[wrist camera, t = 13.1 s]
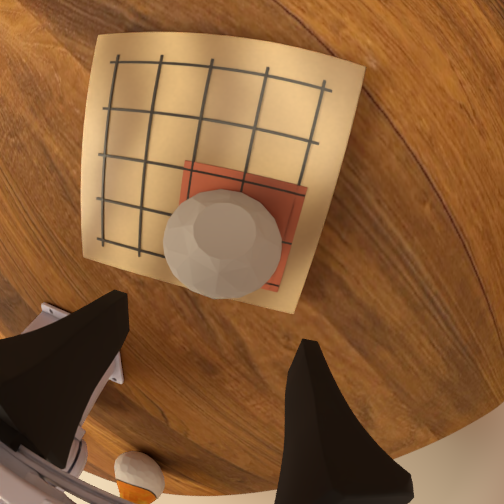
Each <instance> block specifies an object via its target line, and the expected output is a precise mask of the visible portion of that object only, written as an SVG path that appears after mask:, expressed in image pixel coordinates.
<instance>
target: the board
mask: <svg viewBox="0 0 504 504" xmlns="http://www.w3.org/2000/svg"><path fill="white" fill-rule="evenodd" d="M365 71H366V67H365V66H363V65H360V64H357V63H354V62H351V61H347V60H344V59H341V58H337V57H334V56H330V55H327V54H323V53H319V52H315V51H311V50H307V49H303V48H298V47H294V46H289V45H284V44H279V43H274V42H268V41H263V40H256V39H250V38H243V37H235V36H226V35H216V34H204V33H188V32H129V33H113V34H101V35H98V39H97V43H96V48H95V53H94V58H93V63H92V69H91V75H90V81H89V87H88V94H87V102H86V110H85V119H84V130H83V143H82V161H81V228H82V246H83V257H84V258H88V259H91V260H94V261H97V262H100V263H103V264H107V265H110V266H113V267H116V268H120V269H123V270H126V271H130V272H133V273H136V274H140V275H143V276H147V277H150V278H154V279H157V280H161V281H164V282H168V283H171V284H175V285H179V286H182V287H186V286H185V285H184V284H183V283H181V282H180V281H179V280H178V279H177V278H176V277H175V276H174V275H173V273H172V271H171V269H170V267H169V265H168V263H167V261H166V258H165V255H164V248H163V238H164V231H165V228H166V225H167V222H168V220H169V218H170V217H171V215H172V214H173V213H174V211H175V210H176V209H177V208H178V206H179V205H180V204H181V203H183V202H184V201H186V200H188V199H189V198H191V197H193V196H195V195H196V194H198V193H201V192H206V191H212V190H218V189H223V190H230V191H236V192H242V193H244V194H245V195H247V196H249V197H251V198H253V199H255V200H257V201H258V202H260V203H261V204H262V205H263V206H264V207H265V208H266V209H267V211H268V212H269V213H270V214H271V215H272V216H273V217H274V219H275V221H276V224H277V226H278V229H279V232H280V235H281V238H282V251H281V257H280V261H279V264H278V266H277V268H276V271H275V272H274V274H273V275H272V276H271V278H270V279H269V280H268V281H267V282H266V283H265V284H264V285H263V286H262V287H261V288H259V289H257V290H256V291H254V292H252V293H249V294H247V295H245V296H243V297H240V298H230V299H232V300H236V301H240V302H244V303H248V304H252V305H256V306H260V307H265V308H269V309H273V310H277V311H282V312H286V313H291V314H294V312H295V309H296V306H297V303H298V300H299V298H300V295H301V292H302V289H303V286H304V283H305V281H306V278H307V275H308V272H309V269H310V266H311V263H312V260H313V257H314V254H315V251H316V248H317V245H318V242H319V239H320V235H321V232H322V229H323V226H324V223H325V220H326V216H327V213H328V210H329V207H330V203H331V200H332V197H333V193H334V190H335V187H336V183H337V180H338V176H339V173H340V169H341V166H342V162H343V158H344V155H345V151H346V148H347V144H348V140H349V136H350V133H351V129H352V125H353V121H354V117H355V113H356V109H357V105H358V101H359V97H360V93H361V88H362V84H363V80H364V75H365ZM186 288H187V287H186Z"/></svg>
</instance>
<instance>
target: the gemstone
mask: <svg viewBox="0 0 504 504" xmlns="http://www.w3.org/2000/svg"><path fill="white" fill-rule="evenodd" d="M163 248H164V255H165V258H166V261H167V263H168V265H169V267H170V269H171V271H172V273H173V275H174V276H175V277H176V278H177V279H178V280H179V281H180V282H181V283H183V284H184V285H185V286H186V287H187V288H188V289H190V290H191V291H193V292H196V293H198V294H201V295H204V296H207V297H210V298H213V299H230V298H240V297H243V296H245V295H247V294H249V293H252V292H254V291H256V290H257V289H259V288H261V287H262V286H263V285H264V284H265V283H266V282H267V281H268V280H269V279H270V278H271V276H272V275H273V274H274V272H275V271H276V268H277V266H278V264H279V261H280V257H281V251H282V238H281V235H280V232H279V229H278V226H277V224H276V221H275V219H274V217H273V216H272V215H271V214H270V213H269V212H268V211H267V209H266V208H265V207H264V206H263V205H262V204H261V203H260V202H258V201H257V200H255V199H253V198H251V197H249V196H247V195H245V194H244V193H242V192H236V191H230V190H223V189H218V190H212V191H206V192H201V193H198V194H196V195H195V196H193V197H191V198H189V199H188V200H186V201H184V202H183V203H181V204H180V205H179V206H178V208H177V209H176V210H175V211H174V213H173V214H172V215H171V217H170V218H169V220H168V222H167V225H166V228H165V231H164V238H163Z"/></svg>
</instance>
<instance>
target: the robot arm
mask: <svg viewBox="0 0 504 504" xmlns="http://www.w3.org/2000/svg"><path fill="white" fill-rule="evenodd" d="M41 307H42V312H41V313H40V314H39V315H38V316H37V317H36V318H35V319H34V321H33V322H32V323H31V324H30V325H29V326H28V327H27V328H26V329H25V330H24V331H23V332H22V333H21V334H20V335H17V336H14V337H10V338H5V339H0V504H76V503H75V502H73V501H72V500H71V499H69V498H68V497H67V496H66V495H65V494H64V491H67V492H68V493H70V494H72V495H74V496H76V497H78V498H80V499H82V500H84V501H86V502H88V503H90V504H135V503H133V502H130V501H128V500H125V499H122V498H120V497H117V496H115V495H112V494H110V493H108V492H106V491H103V490H101V489H99V488H97V487H95V486H92V485H90V484H88V483H86V482H84V481H82V480H80V479H78V478H79V476H80V474H81V473H82V471H83V469H84V467H85V464H86V461H87V456H88V452H87V445H86V442H85V441H84V440H83V439H82V437H83V436H84V434H85V430H84V429H82V428H81V426H82V425H83V423H84V421H85V419H86V418H87V416H88V414H89V412H90V410H91V409H92V407H93V405H94V403H95V402H96V400H97V398H98V396H99V395H100V393H101V391H102V390H103V388H104V386H105V385H106V383H107V381H108V379H109V380H112V381H114V382H117V383H119V384H122V383H123V382H124V378H123V372H122V365H121V358H120V349H121V347H122V345H123V343H124V341H125V339H126V336H127V334H128V332H129V317H128V299H127V293H124V292H121V291H117V290H113V291H111V292H109V293H107V294H106V295H104V296H102V297H100V298H99V299H97V300H95V301H93V302H92V303H90V304H88V305H86V306H84V307H83V308H81V309H79V310H77V311H75V312H73V313H71V314H70V313H68V312H65V311H63V310H61V309H59V308H56V307H54V306H52V305H50V304H47V303H45V302H44V303H43V304H42V305H41ZM413 498H414V493H413V483H412V479H411V474H410V473H408V472H407V471H406V470H405V469H403V468H402V467H401V466H400V465H399V464H397V463H396V462H395V461H394V460H393V459H392V458H391V457H390V456H389V455H388V454H387V453H386V452H385V451H384V450H383V449H382V448H381V447H380V446H379V445H378V444H377V443H376V442H375V441H374V440H373V438H372V437H371V436H370V435H369V434H368V433H367V431H366V430H365V429H364V428H363V426H362V425H361V424H360V422H359V421H358V419H357V418H356V416H355V415H354V414H353V412H352V410H351V409H350V407H349V406H348V404H347V402H346V401H345V399H344V397H343V395H342V393H341V392H340V390H339V388H338V386H337V384H336V382H335V380H334V378H333V376H332V374H331V371H330V369H329V367H328V365H327V363H326V360H325V358H324V356H323V353H322V351H321V348H320V346H319V344H318V342H317V341H313V340H307V339H302V341H301V343H300V345H299V348H298V350H297V353H296V355H295V357H294V360H293V362H292V364H291V366H290V369H289V371H288V377H287V384H286V392H285V438H284V451H283V458H282V465H281V471H280V477H279V483H278V488H277V493H276V499H275V503H274V504H408V503H409V502H410V501H411V500H412V499H413Z"/></svg>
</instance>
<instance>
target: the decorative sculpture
mask: <svg viewBox="0 0 504 504" xmlns="http://www.w3.org/2000/svg"><path fill="white" fill-rule="evenodd" d="M114 469H115V476H116V481H117V485H118V489H119V492H120V498H122V499H125V500H128V501H130V502H133V503H135V504H150V503H152V502H153V501H155V500H156V499H158V498H159V496H160V495H161V494H162V492H163V490H164V486H165V482H164V476H163V473H162V471H161V468H160V467H159V465H158V464H157V463H156V462H155V461H154V460H153V459H152V458H151V457H149V456H148V455H146V454H144V453H141V452H137V451H130V452H125V453H123V454H121V455H119V457H118V458H117V459H116V461H115V466H114Z"/></svg>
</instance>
